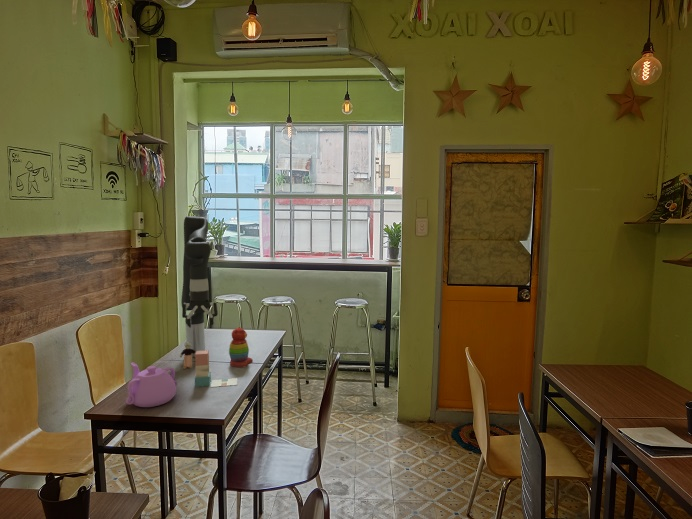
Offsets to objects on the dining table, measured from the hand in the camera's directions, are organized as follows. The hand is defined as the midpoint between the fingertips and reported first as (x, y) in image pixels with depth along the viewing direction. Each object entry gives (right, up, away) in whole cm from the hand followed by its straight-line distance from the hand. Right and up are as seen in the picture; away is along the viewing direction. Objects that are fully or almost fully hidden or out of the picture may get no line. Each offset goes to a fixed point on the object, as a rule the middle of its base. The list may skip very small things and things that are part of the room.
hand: (200, 326), depth 190 cm
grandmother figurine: (-14, -24, +24) cm, 36 cm away
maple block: (0, -21, +2) cm, 21 cm away
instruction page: (+9, -25, +3) cm, 27 cm away
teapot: (-16, -27, -14) cm, 34 cm away
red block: (0, -16, +2) cm, 16 cm away
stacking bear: (+10, -23, +29) cm, 38 cm away
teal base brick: (0, -25, +3) cm, 25 cm away
